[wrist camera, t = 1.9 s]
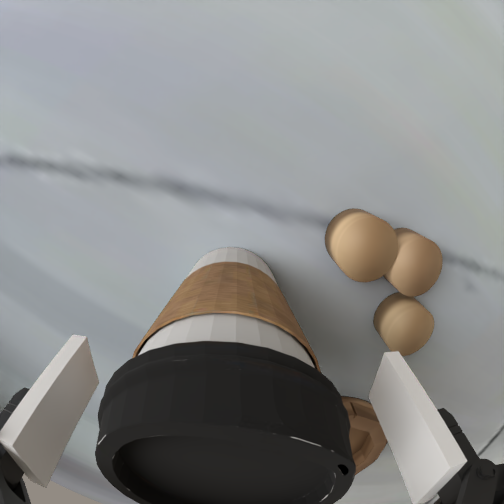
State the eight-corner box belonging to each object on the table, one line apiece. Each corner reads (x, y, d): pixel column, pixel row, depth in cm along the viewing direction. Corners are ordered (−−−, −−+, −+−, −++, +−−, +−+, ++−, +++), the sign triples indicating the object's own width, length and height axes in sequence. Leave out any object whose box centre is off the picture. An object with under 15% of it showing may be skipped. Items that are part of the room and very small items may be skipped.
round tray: (239, 477, 28) (239, 493, 26) (245, 398, 24) (246, 418, 22) (358, 468, 29) (362, 482, 27) (400, 388, 25) (410, 404, 22)
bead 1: (321, 264, 20) (333, 281, 18) (328, 205, 19) (342, 214, 16) (373, 266, 21) (391, 282, 18) (382, 211, 19) (403, 220, 16)
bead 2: (370, 279, 21) (387, 296, 18) (380, 225, 20) (400, 237, 17) (414, 279, 21) (434, 296, 18) (425, 229, 20) (447, 241, 17)
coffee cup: (310, 312, 21) (382, 501, 7) (206, 353, 22) (182, 540, 8) (262, 205, 19) (320, 357, 5) (148, 260, 20) (25, 432, 6)
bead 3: (368, 336, 22) (381, 358, 20) (379, 291, 21) (396, 310, 18) (408, 333, 23) (424, 353, 20) (421, 291, 21) (440, 308, 19)
